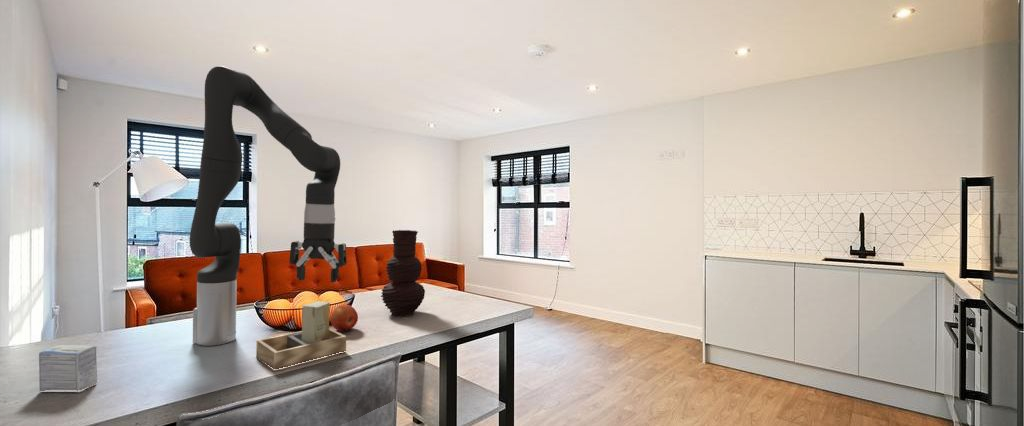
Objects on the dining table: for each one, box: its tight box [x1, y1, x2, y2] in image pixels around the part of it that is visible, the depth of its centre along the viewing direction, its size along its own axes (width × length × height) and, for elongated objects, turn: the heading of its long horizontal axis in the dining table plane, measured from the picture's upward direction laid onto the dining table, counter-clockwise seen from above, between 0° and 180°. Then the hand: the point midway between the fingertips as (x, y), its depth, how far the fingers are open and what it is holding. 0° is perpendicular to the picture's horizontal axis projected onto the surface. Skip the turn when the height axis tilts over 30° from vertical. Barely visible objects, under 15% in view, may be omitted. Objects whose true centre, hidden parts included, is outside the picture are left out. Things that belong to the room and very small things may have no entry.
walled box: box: [255, 327, 347, 369], centre depth 114 cm, size 18×12×4 cm, turn 139°
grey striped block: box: [38, 344, 98, 392], centre depth 91 cm, size 8×4×9 cm, turn 92°
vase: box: [380, 229, 426, 318], centre depth 156 cm, size 15×15×30 cm
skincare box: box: [301, 300, 331, 344], centre depth 117 cm, size 6×4×12 cm
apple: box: [329, 304, 359, 332], centre depth 135 cm, size 8×8×8 cm
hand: (317, 281), depth 116 cm, fingers open, 8 cm apart
